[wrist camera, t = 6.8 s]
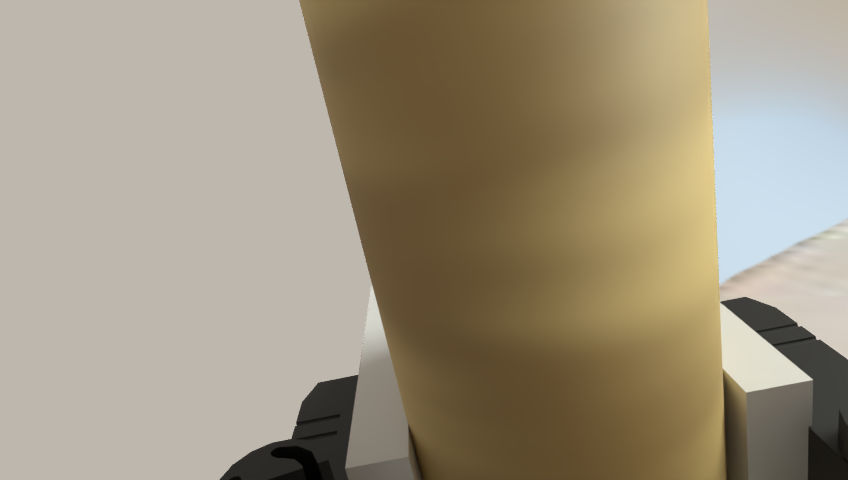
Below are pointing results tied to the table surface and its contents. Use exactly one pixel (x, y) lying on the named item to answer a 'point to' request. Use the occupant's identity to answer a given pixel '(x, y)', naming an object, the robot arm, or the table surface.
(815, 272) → the table surface
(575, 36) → the peg
